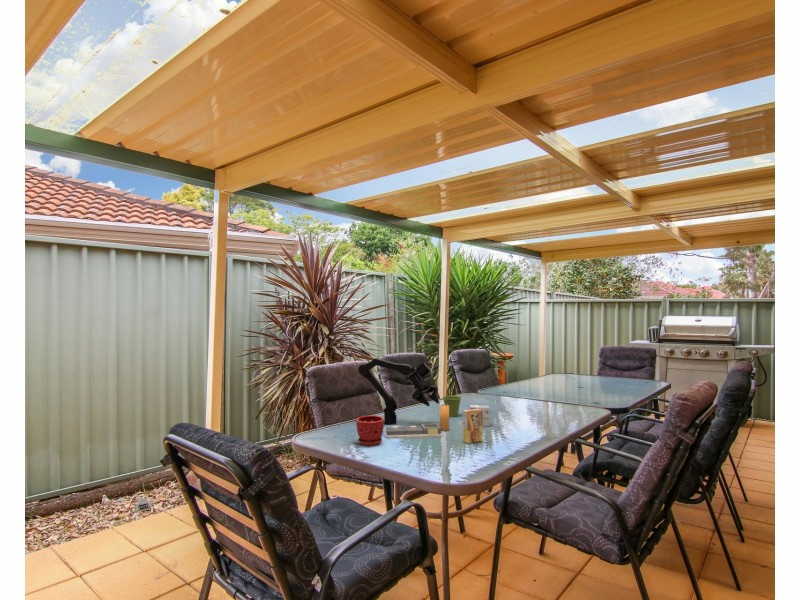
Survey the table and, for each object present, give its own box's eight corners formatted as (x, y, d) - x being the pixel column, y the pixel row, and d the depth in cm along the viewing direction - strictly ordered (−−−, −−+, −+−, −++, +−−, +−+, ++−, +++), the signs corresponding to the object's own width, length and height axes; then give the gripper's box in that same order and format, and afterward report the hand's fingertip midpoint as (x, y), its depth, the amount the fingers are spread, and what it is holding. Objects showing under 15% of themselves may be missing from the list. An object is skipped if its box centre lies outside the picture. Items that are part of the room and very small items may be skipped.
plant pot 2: (441, 417, 275) (441, 398, 275) (443, 413, 287) (443, 395, 287) (461, 418, 273) (461, 399, 273) (462, 414, 285) (461, 395, 285)
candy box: (477, 439, 225) (477, 408, 225) (483, 441, 221) (482, 409, 221) (462, 441, 221) (462, 409, 221) (467, 443, 217) (467, 411, 218)
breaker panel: (387, 438, 226) (387, 429, 226) (385, 432, 238) (385, 424, 238) (442, 437, 229) (442, 428, 229) (437, 431, 241) (437, 422, 241)
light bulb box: (488, 424, 258) (488, 404, 258) (490, 426, 251) (489, 407, 252) (469, 423, 259) (469, 404, 259) (470, 426, 252) (470, 406, 253)
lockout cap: (440, 431, 241) (440, 406, 242) (439, 428, 246) (438, 404, 247) (450, 430, 242) (449, 405, 242) (448, 428, 247) (447, 404, 247)
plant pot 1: (352, 442, 221) (352, 417, 221) (376, 438, 227) (376, 414, 228) (363, 448, 209) (363, 422, 210) (388, 444, 216) (388, 419, 217)
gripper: (415, 374, 246) (432, 397, 238) (435, 371, 260) (451, 392, 253) (404, 388, 250) (420, 410, 243) (424, 384, 265) (440, 405, 258)
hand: (433, 404), depth 249 cm, fingers open, 9 cm apart
